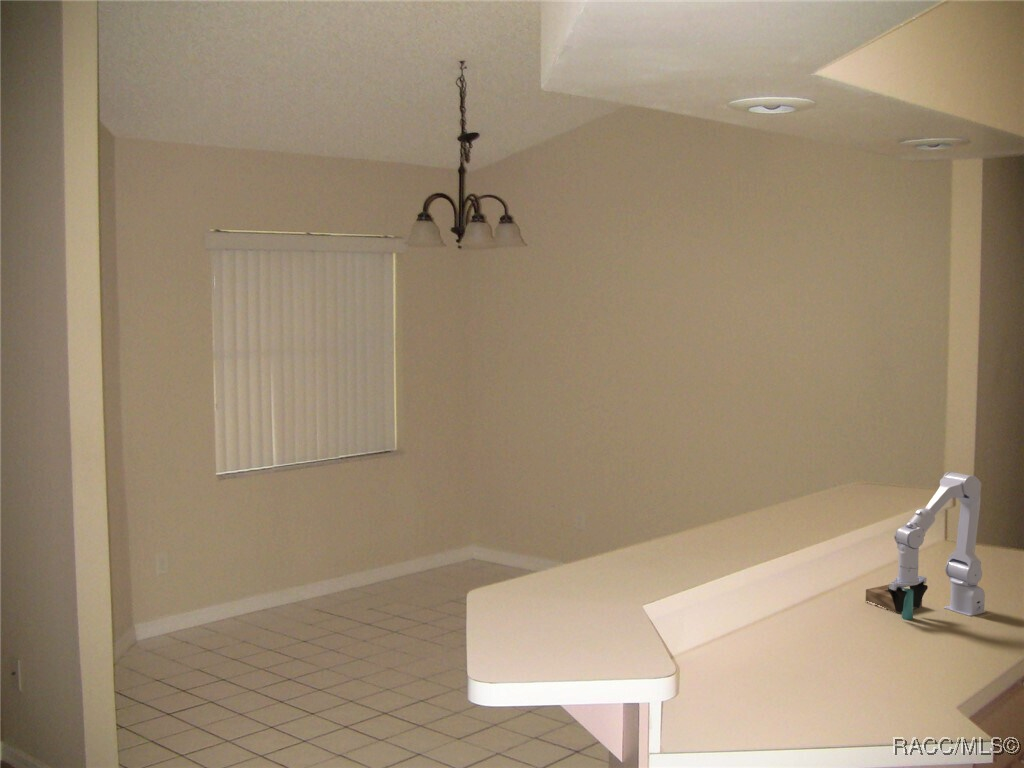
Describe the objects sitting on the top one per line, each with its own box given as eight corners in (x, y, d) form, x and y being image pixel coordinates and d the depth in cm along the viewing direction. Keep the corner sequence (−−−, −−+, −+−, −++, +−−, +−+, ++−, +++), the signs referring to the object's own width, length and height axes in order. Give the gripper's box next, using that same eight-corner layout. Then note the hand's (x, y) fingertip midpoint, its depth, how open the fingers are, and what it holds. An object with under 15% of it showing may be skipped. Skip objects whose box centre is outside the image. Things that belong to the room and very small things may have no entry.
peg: (915, 618, 291) (915, 590, 290) (908, 620, 289) (908, 592, 288) (906, 616, 293) (907, 587, 293) (899, 617, 292) (899, 589, 291)
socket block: (921, 607, 302) (922, 593, 301) (896, 613, 296) (896, 599, 296) (891, 597, 312) (891, 583, 312) (865, 602, 307) (865, 589, 306)
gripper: (913, 559, 297) (912, 601, 298) (881, 566, 290) (880, 609, 291) (932, 565, 291) (931, 607, 292) (900, 571, 284) (899, 615, 285)
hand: (907, 609), depth 291 cm, fingers open, 7 cm apart
